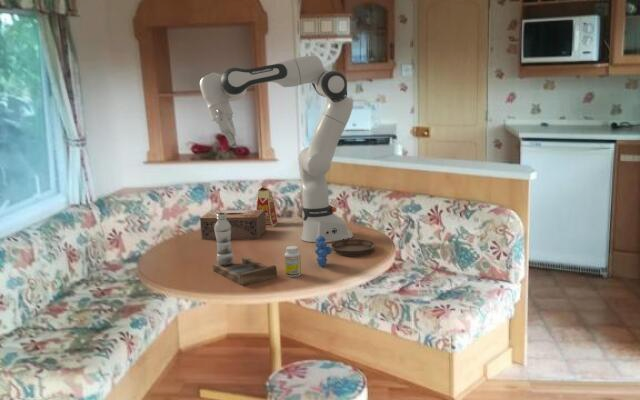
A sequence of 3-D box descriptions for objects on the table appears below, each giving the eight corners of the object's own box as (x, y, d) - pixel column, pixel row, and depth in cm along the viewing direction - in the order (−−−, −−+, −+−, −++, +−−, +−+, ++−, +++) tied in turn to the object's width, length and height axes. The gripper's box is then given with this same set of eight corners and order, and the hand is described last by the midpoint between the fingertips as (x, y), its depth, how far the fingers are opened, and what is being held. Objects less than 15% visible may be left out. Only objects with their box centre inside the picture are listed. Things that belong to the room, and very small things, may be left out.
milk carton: (273, 227, 294) (270, 185, 289) (254, 227, 295) (251, 185, 291) (278, 222, 302) (275, 181, 298) (259, 222, 304) (257, 181, 300)
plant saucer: (351, 243, 261) (351, 236, 261) (384, 250, 249) (384, 242, 249) (322, 253, 249) (321, 245, 248) (356, 261, 237) (355, 253, 236)
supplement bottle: (292, 271, 227) (291, 244, 225) (304, 274, 224) (303, 246, 222) (282, 275, 223) (280, 248, 221) (293, 278, 220) (292, 250, 218)
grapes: (336, 270, 227) (334, 238, 224) (317, 271, 226) (315, 239, 223) (331, 260, 238) (330, 230, 235) (313, 262, 237) (312, 231, 235)
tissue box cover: (265, 230, 288) (264, 209, 286) (258, 239, 274) (256, 217, 272) (211, 231, 292) (210, 210, 290) (201, 239, 278) (200, 217, 276)
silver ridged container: (237, 262, 241) (233, 212, 237) (229, 267, 235) (225, 216, 231) (222, 261, 243) (218, 211, 239) (213, 266, 237) (209, 215, 233)
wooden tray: (213, 270, 232) (212, 260, 232) (245, 262, 240) (245, 252, 239) (242, 285, 214) (241, 274, 214) (276, 276, 222) (276, 266, 221)
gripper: (224, 106, 239) (237, 139, 239) (232, 114, 259) (243, 145, 259) (209, 111, 239) (222, 145, 239) (217, 119, 259) (229, 150, 259)
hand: (233, 145), depth 249 cm, fingers open, 8 cm apart
